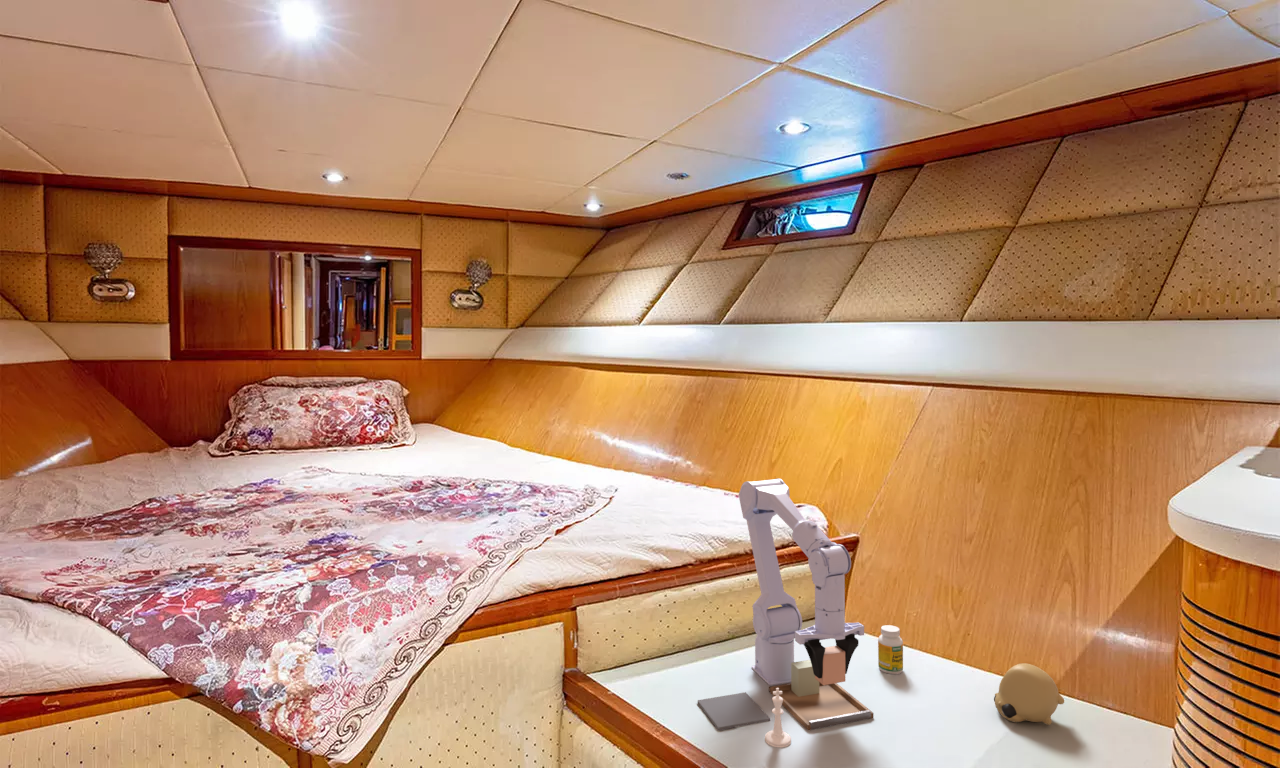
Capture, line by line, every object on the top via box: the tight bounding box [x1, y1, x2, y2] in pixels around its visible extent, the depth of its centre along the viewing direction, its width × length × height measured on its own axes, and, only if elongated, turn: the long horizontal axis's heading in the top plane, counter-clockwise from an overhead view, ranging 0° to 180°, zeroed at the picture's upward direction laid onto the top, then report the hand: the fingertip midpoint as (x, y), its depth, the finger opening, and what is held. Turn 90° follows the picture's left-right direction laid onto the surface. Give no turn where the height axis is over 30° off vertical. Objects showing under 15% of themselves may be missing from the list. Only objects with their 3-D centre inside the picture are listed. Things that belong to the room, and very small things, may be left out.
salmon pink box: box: [815, 645, 846, 685], centre depth 134 cm, size 3×5×6 cm, turn 106°
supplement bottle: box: [877, 624, 904, 675], centre depth 154 cm, size 5×5×10 cm
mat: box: [697, 691, 771, 731], centre depth 136 cm, size 11×11×1 cm
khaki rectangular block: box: [791, 659, 819, 697], centre depth 144 cm, size 3×5×6 cm, turn 106°
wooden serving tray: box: [768, 682, 874, 731], centre depth 138 cm, size 16×15×2 cm
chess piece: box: [764, 688, 792, 748], centre depth 126 cm, size 5×5×10 cm
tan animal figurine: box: [993, 662, 1065, 726], centre depth 132 cm, size 10×12×11 cm
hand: (830, 673), depth 134 cm, fingers closed on salmon pink box, 5 cm apart
